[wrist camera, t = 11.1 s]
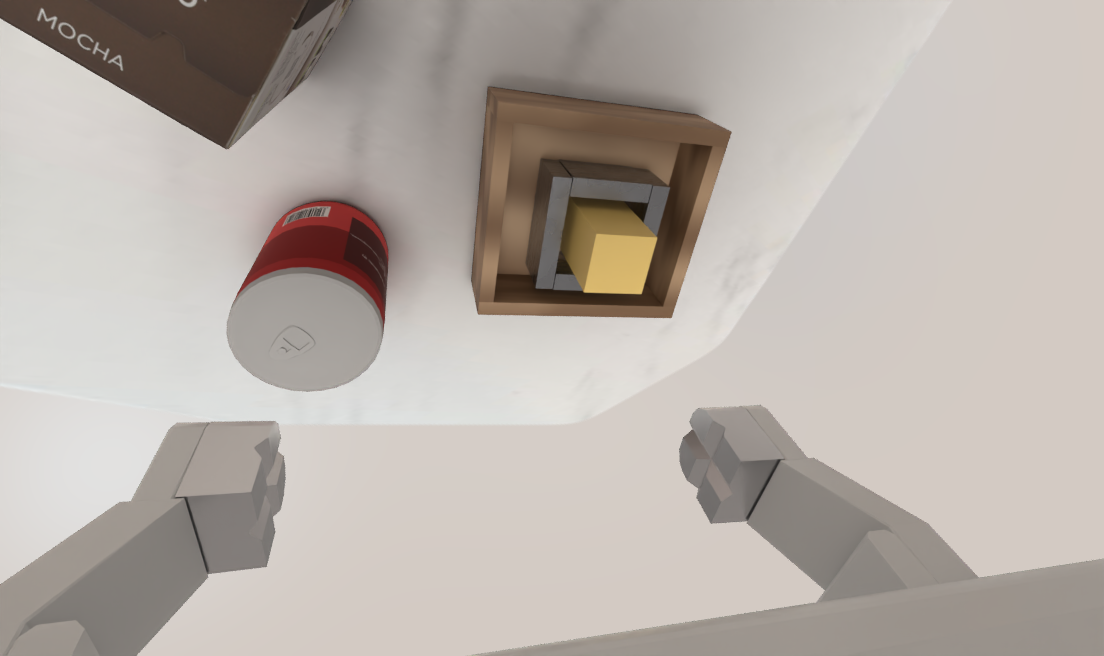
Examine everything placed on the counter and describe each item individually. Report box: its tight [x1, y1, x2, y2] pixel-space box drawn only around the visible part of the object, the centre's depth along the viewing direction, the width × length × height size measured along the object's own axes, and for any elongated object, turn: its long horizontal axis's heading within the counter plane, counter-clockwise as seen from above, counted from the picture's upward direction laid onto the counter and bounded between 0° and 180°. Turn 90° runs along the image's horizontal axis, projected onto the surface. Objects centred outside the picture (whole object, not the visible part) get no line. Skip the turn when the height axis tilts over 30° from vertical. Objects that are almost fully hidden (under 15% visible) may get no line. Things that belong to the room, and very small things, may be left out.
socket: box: [526, 158, 670, 291], centre depth 38 cm, size 8×8×4 cm
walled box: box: [471, 87, 731, 318], centre depth 37 cm, size 14×15×5 cm
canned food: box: [227, 201, 388, 392], centre depth 33 cm, size 8×8×11 cm
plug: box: [560, 196, 657, 294], centre depth 36 cm, size 4×4×8 cm
